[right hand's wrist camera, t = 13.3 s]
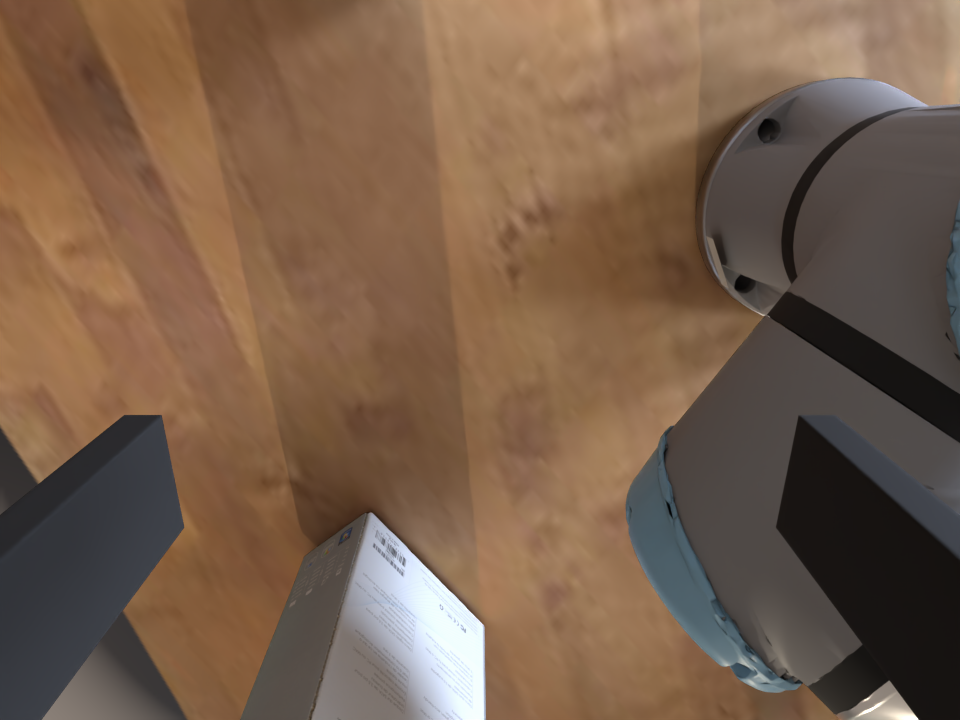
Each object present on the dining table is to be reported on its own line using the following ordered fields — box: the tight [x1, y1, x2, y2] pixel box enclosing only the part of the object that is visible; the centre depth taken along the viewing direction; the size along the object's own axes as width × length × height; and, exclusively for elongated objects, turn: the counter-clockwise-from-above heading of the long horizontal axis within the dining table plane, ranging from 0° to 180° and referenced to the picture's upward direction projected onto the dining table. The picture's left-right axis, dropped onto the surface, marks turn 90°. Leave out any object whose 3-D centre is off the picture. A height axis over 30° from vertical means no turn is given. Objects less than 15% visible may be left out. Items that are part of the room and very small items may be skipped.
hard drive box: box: [240, 512, 486, 720], centre depth 43 cm, size 16×8×20 cm, turn 38°
